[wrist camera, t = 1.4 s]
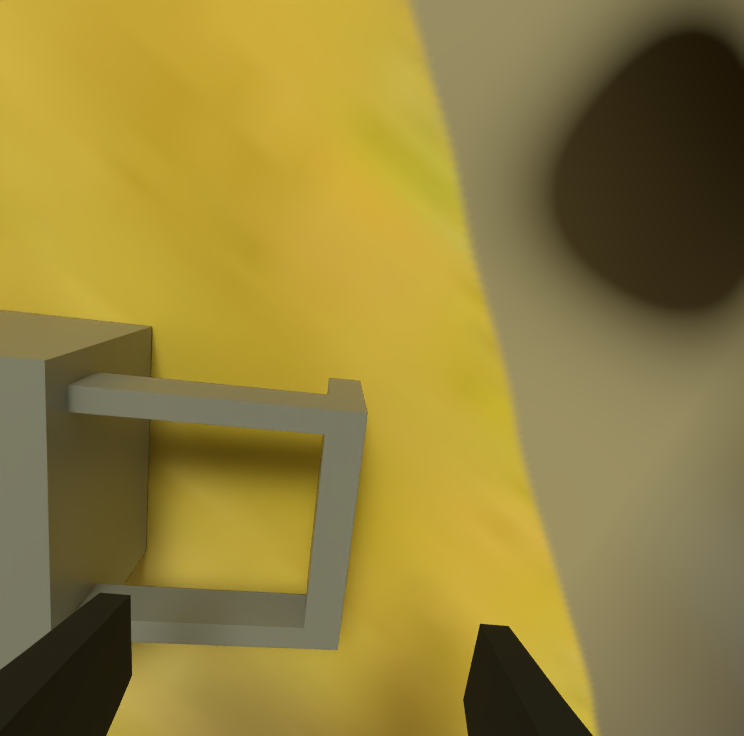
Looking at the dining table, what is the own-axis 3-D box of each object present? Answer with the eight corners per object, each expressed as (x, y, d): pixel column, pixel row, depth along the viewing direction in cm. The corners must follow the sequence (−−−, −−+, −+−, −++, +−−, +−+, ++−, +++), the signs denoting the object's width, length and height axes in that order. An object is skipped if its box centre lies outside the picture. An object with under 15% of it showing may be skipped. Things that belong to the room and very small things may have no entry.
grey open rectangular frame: (334, 562, 21) (334, 699, 15) (-103, 536, 19) (-339, 680, 13) (359, 348, 19) (373, 393, 13) (-127, 296, 17) (-424, 314, 11)
